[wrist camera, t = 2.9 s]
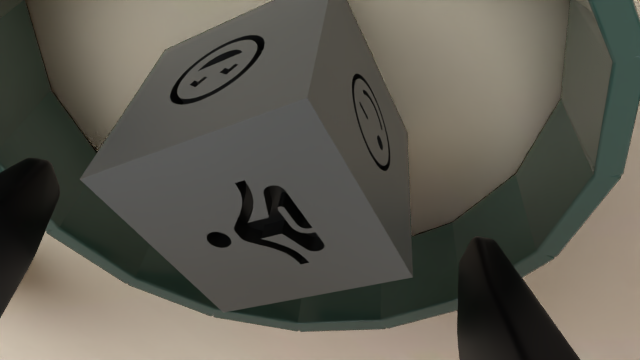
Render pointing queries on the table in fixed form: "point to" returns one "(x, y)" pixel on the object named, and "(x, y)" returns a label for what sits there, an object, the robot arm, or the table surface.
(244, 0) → the table surface
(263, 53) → the dice cube
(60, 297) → the table surface
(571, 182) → the bracelet
